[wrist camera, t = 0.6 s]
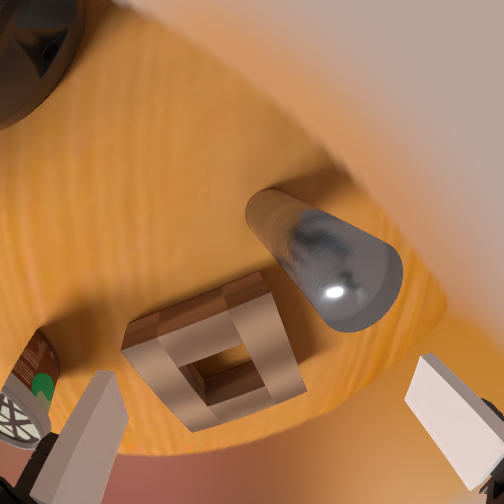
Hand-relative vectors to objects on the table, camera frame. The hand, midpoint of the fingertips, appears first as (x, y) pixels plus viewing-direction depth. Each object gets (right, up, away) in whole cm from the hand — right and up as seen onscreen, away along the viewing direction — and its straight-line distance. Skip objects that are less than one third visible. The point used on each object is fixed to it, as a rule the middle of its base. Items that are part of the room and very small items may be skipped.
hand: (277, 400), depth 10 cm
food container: (-24, -7, +13) cm, 29 cm away
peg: (0, +9, +13) cm, 16 cm away
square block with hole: (-4, -4, +17) cm, 18 cm away
